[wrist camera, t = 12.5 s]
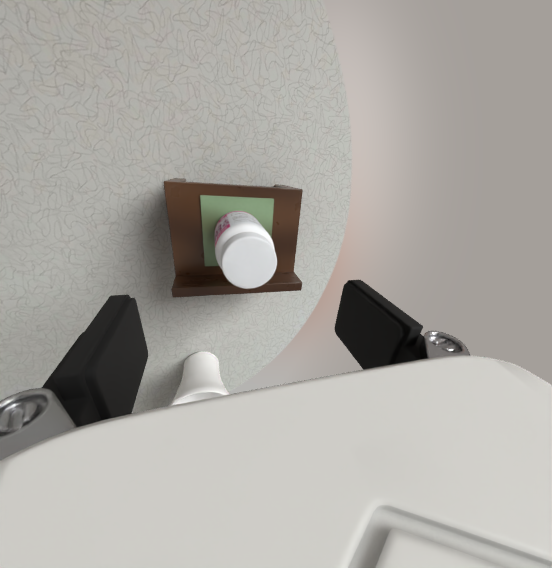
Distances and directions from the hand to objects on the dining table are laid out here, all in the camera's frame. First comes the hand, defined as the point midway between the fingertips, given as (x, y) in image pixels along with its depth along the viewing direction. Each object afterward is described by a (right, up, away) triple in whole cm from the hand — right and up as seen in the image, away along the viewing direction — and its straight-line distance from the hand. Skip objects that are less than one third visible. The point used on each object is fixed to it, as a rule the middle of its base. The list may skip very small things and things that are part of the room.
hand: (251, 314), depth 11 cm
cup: (-11, -12, +28) cm, 32 cm away
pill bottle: (-3, +7, +13) cm, 15 cm away
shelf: (-4, +9, +19) cm, 22 cm away
